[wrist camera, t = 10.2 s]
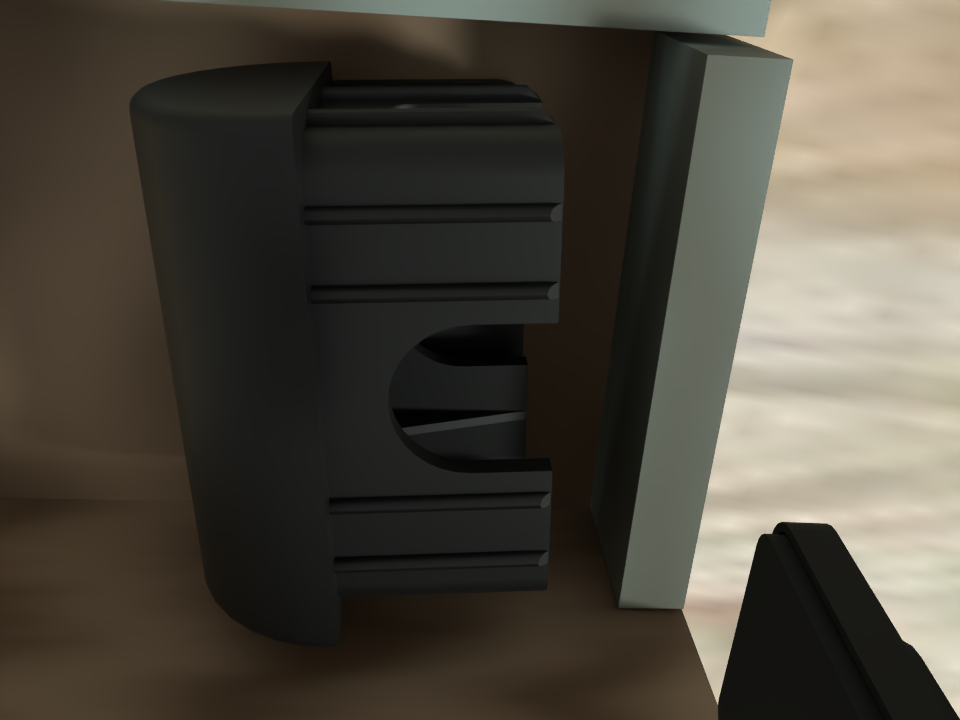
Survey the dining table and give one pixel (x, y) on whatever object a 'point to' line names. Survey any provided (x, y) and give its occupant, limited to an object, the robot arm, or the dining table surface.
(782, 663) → the robot arm
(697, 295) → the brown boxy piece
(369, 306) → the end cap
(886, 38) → the dining table surface
